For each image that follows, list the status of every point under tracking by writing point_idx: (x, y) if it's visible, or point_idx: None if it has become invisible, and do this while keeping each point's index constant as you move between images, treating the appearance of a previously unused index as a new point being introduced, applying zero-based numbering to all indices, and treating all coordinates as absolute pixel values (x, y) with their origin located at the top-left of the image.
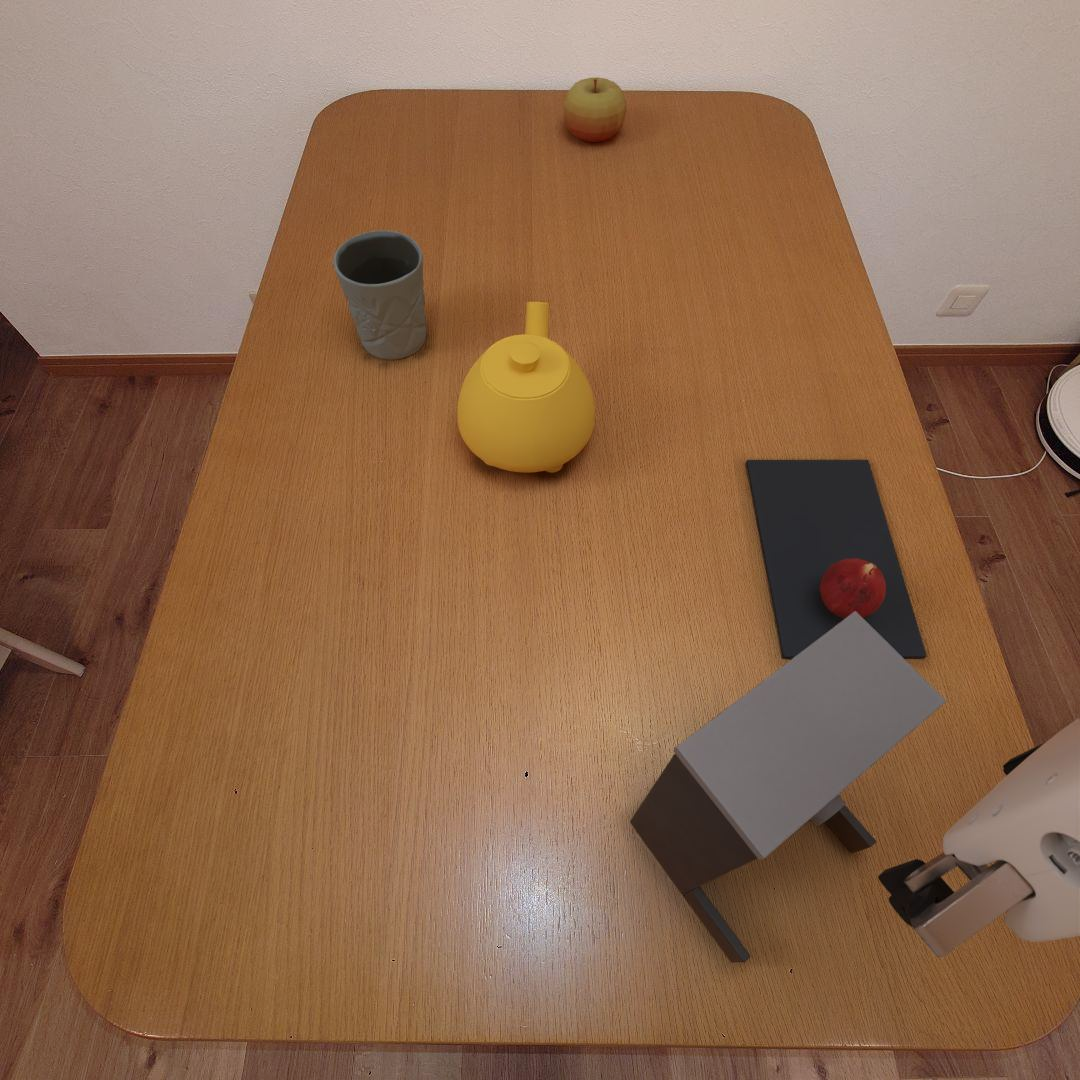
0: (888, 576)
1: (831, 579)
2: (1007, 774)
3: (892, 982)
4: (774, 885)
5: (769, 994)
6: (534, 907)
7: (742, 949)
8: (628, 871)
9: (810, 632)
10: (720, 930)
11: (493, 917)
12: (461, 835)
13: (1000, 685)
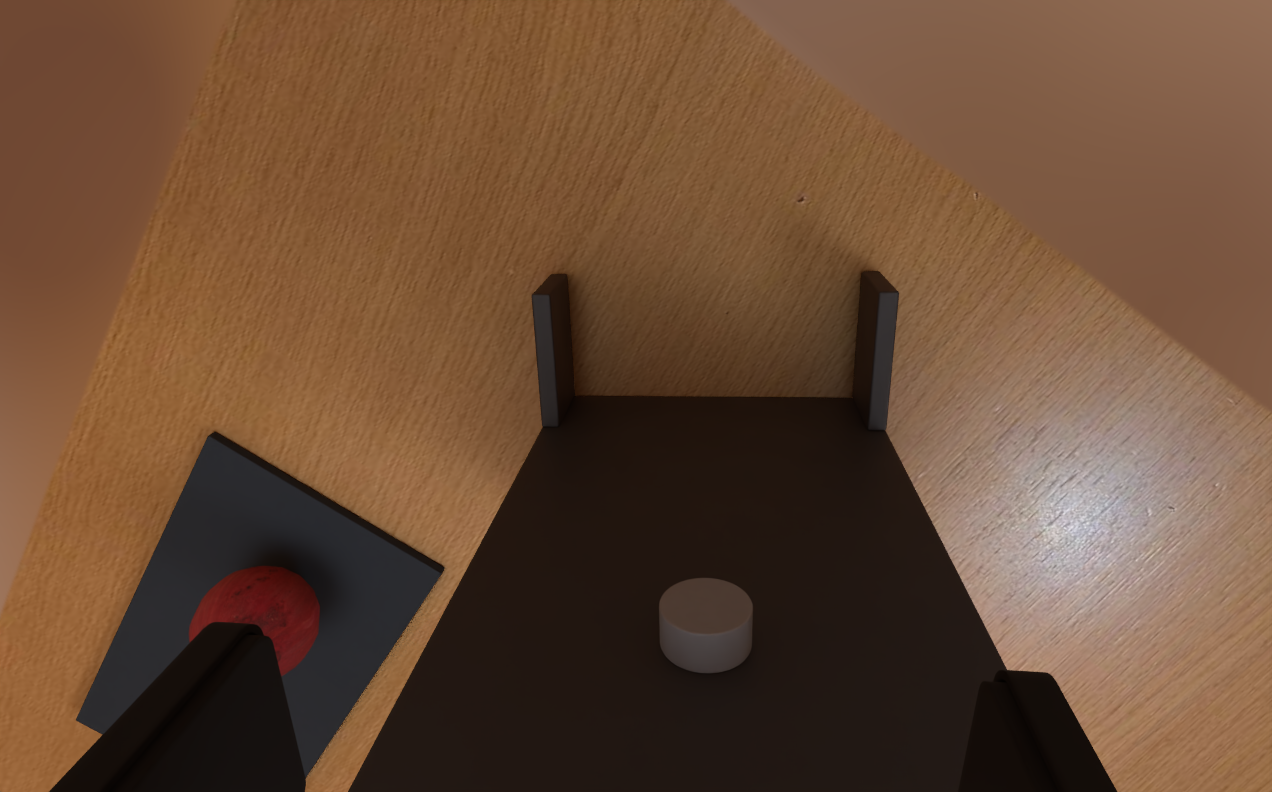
0: (178, 567)
1: (284, 672)
2: (300, 781)
3: (660, 75)
4: (723, 316)
5: (861, 194)
6: (1082, 519)
7: (884, 309)
8: (916, 473)
9: (371, 577)
10: (892, 354)
11: (1146, 544)
12: (1095, 658)
13: (115, 319)
